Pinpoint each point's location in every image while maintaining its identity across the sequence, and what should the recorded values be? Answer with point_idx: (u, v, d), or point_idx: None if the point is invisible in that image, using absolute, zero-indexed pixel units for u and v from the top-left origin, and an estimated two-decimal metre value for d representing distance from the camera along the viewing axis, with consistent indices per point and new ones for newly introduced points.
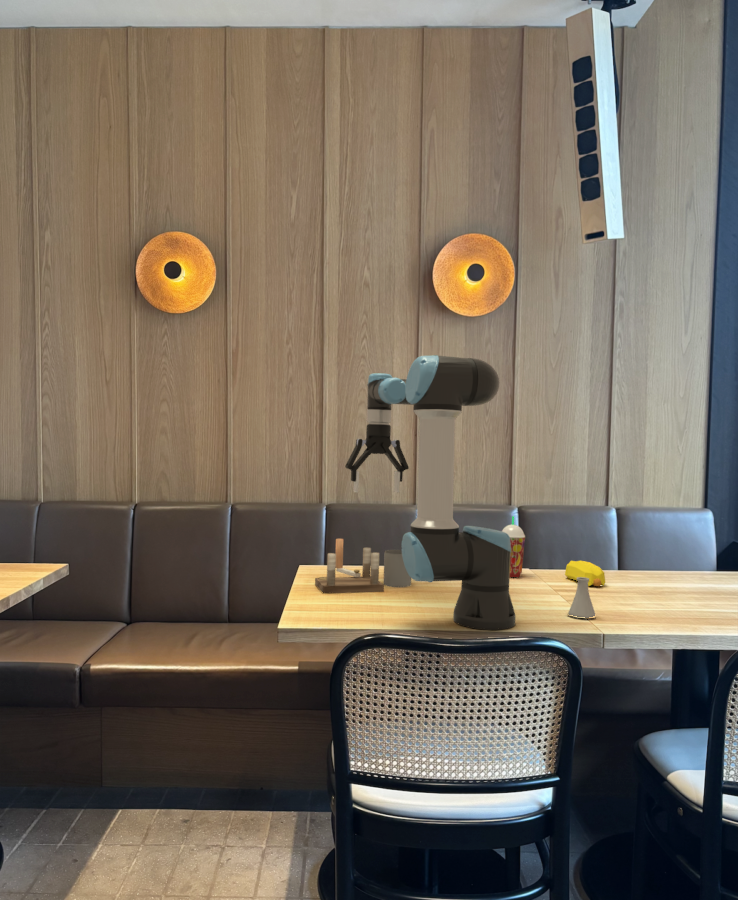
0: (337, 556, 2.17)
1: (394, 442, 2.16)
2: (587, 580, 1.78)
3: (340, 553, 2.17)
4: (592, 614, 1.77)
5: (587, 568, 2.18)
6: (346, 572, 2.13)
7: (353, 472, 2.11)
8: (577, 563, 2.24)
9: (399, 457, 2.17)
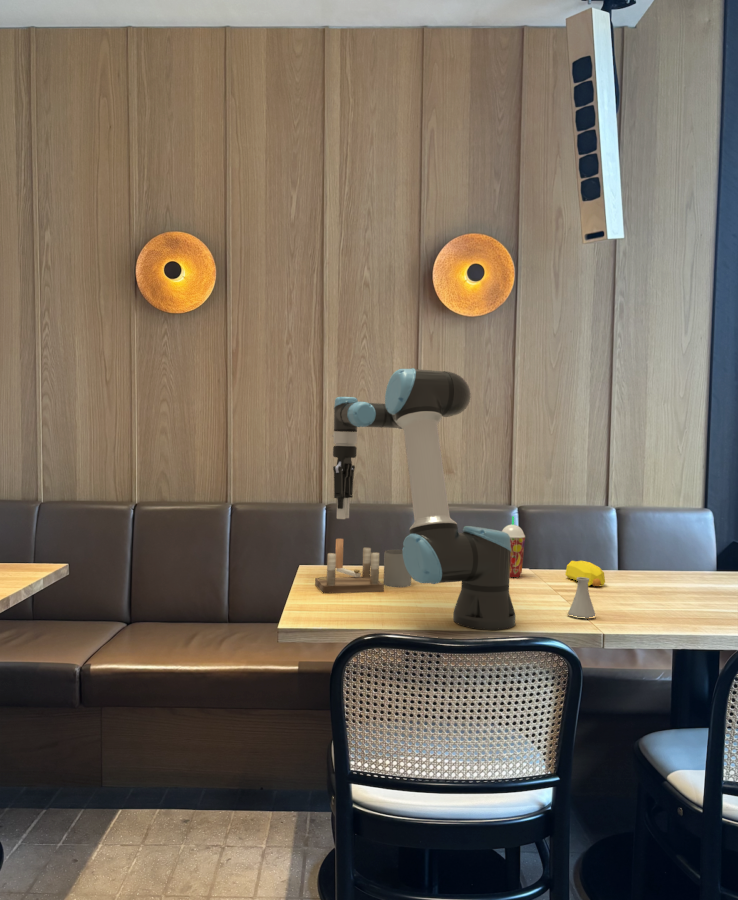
0: (337, 556, 2.17)
1: None
2: (587, 580, 1.78)
3: (340, 553, 2.17)
4: (592, 614, 1.77)
5: (586, 568, 2.18)
6: (346, 572, 2.13)
7: (342, 500, 2.19)
8: (577, 563, 2.24)
9: None
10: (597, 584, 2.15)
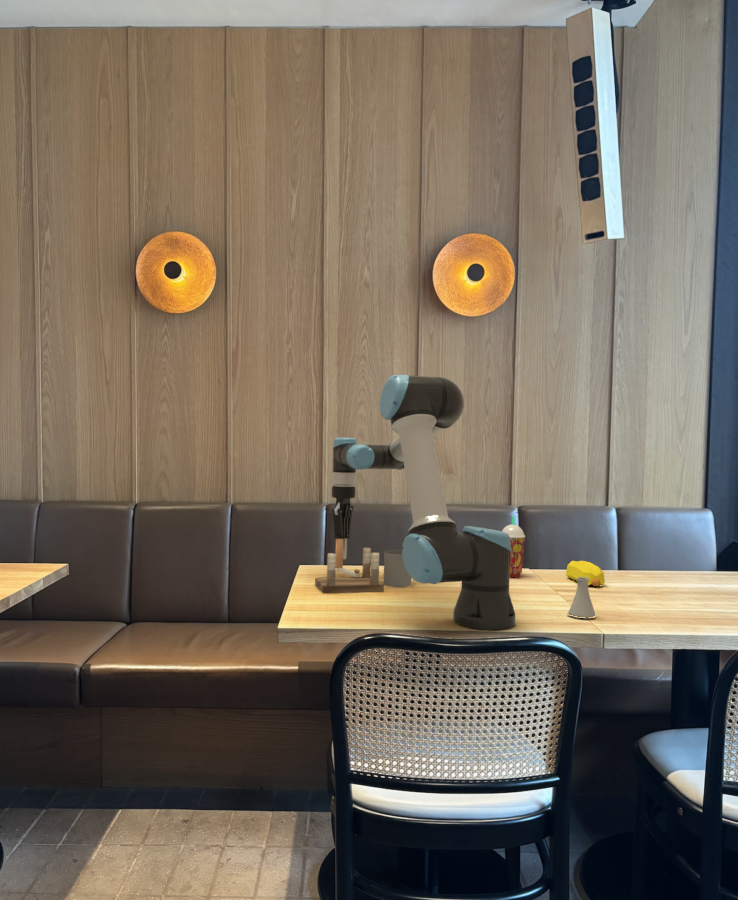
0: (337, 556, 2.17)
1: None
2: (587, 580, 1.78)
3: (340, 553, 2.17)
4: (592, 614, 1.77)
5: (586, 568, 2.18)
6: (346, 572, 2.13)
7: None
8: (577, 563, 2.25)
9: None
10: (596, 584, 2.15)
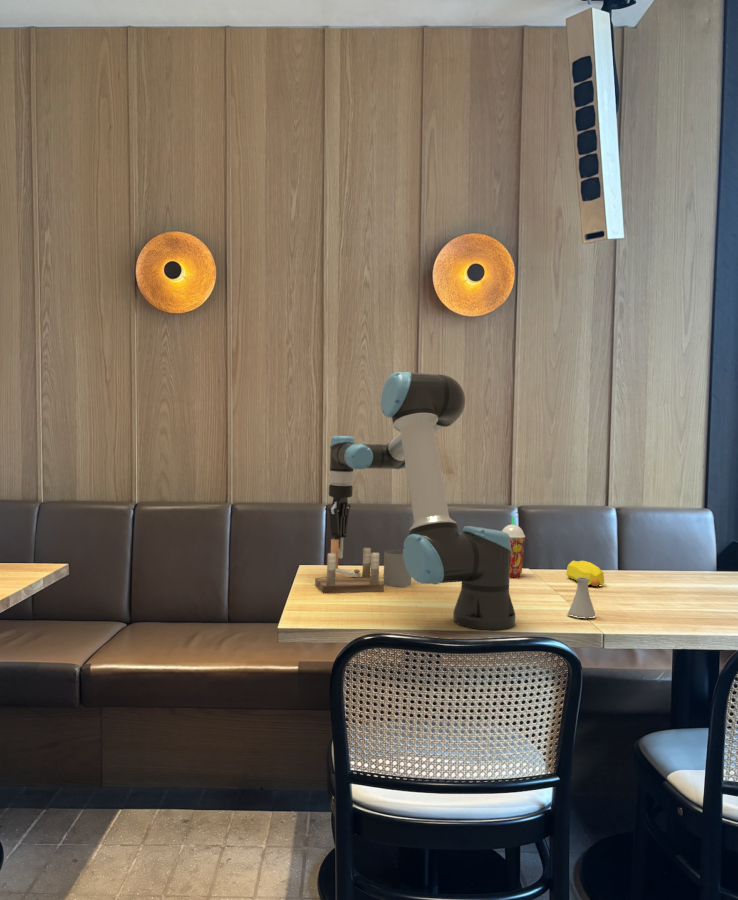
0: None
1: None
2: (587, 580, 1.78)
3: (336, 553, 2.16)
4: (592, 614, 1.77)
5: (585, 568, 2.18)
6: (344, 572, 2.12)
7: None
8: (577, 563, 2.25)
9: None
10: (596, 584, 2.15)
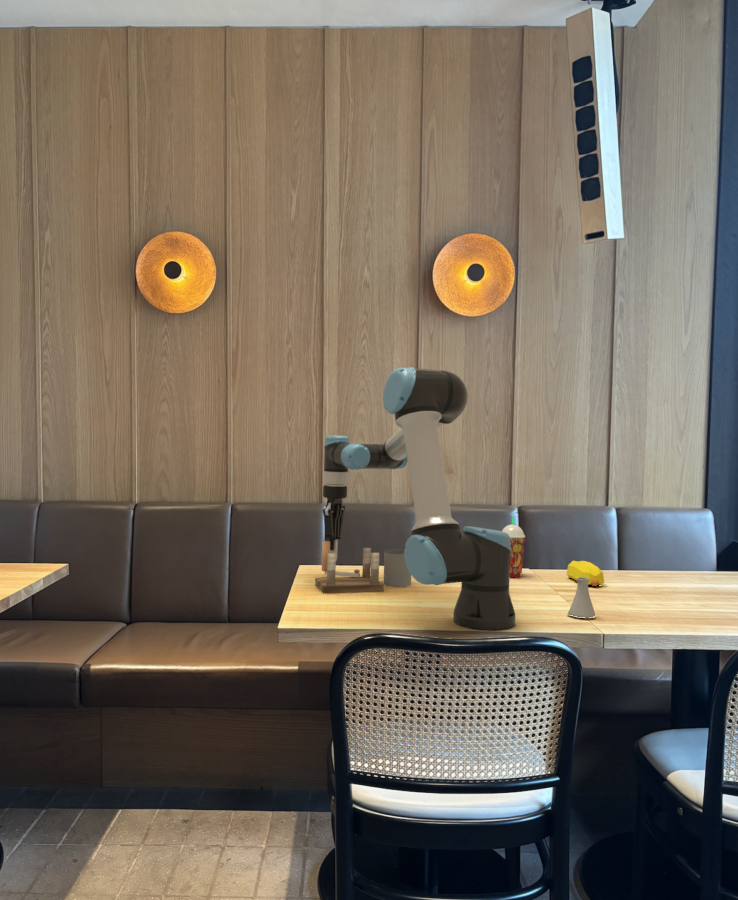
0: (326, 559, 2.12)
1: (341, 506, 2.20)
2: (587, 580, 1.78)
3: None
4: (592, 614, 1.77)
5: (585, 567, 2.18)
6: (342, 574, 2.10)
7: (333, 541, 2.15)
8: (577, 563, 2.25)
9: None
10: (595, 584, 2.15)
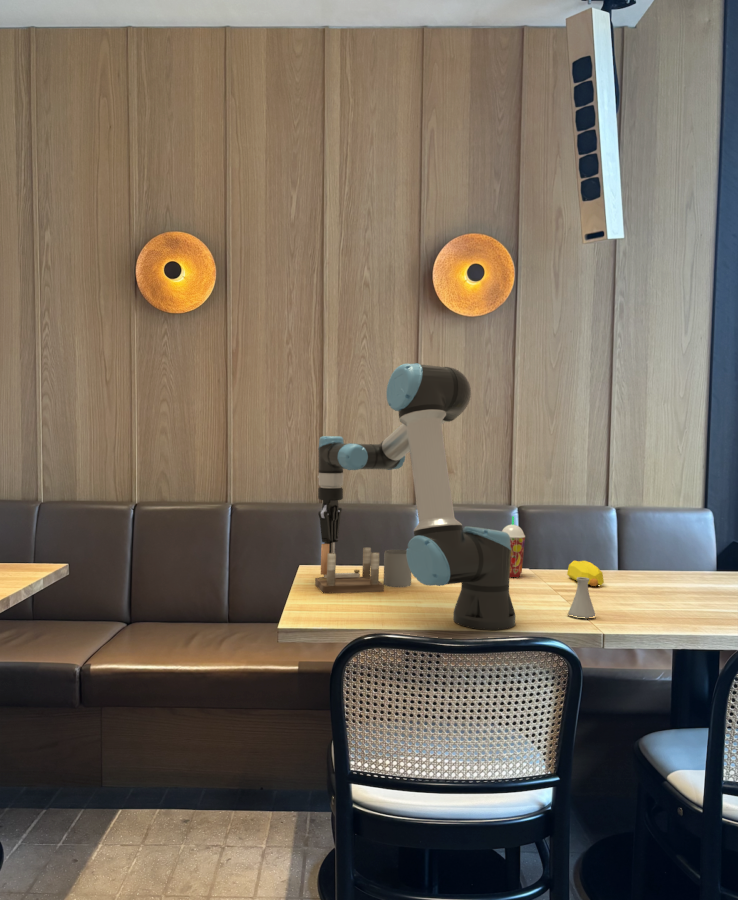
0: None
1: None
2: (587, 580, 1.78)
3: None
4: (592, 614, 1.77)
5: (584, 567, 2.19)
6: (343, 575, 2.08)
7: (330, 544, 2.10)
8: (577, 563, 2.25)
9: None
10: (594, 584, 2.15)
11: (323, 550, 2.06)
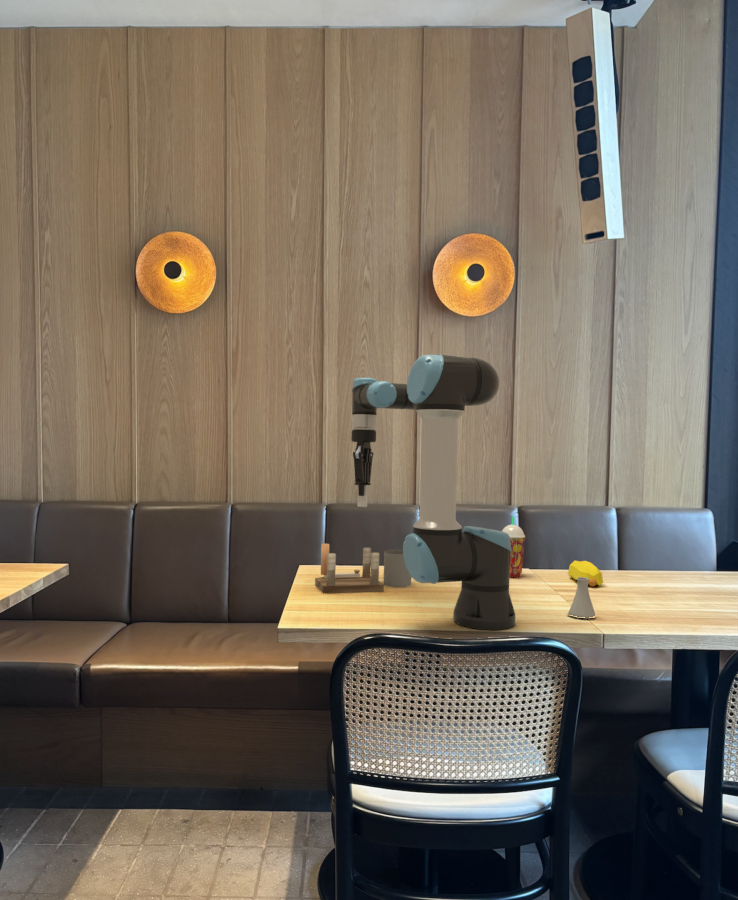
0: None
1: None
2: (587, 580, 1.78)
3: None
4: (592, 614, 1.77)
5: (583, 567, 2.19)
6: (343, 575, 2.08)
7: (363, 486, 2.09)
8: (577, 563, 2.25)
9: None
10: (592, 584, 2.15)
11: (323, 550, 2.06)
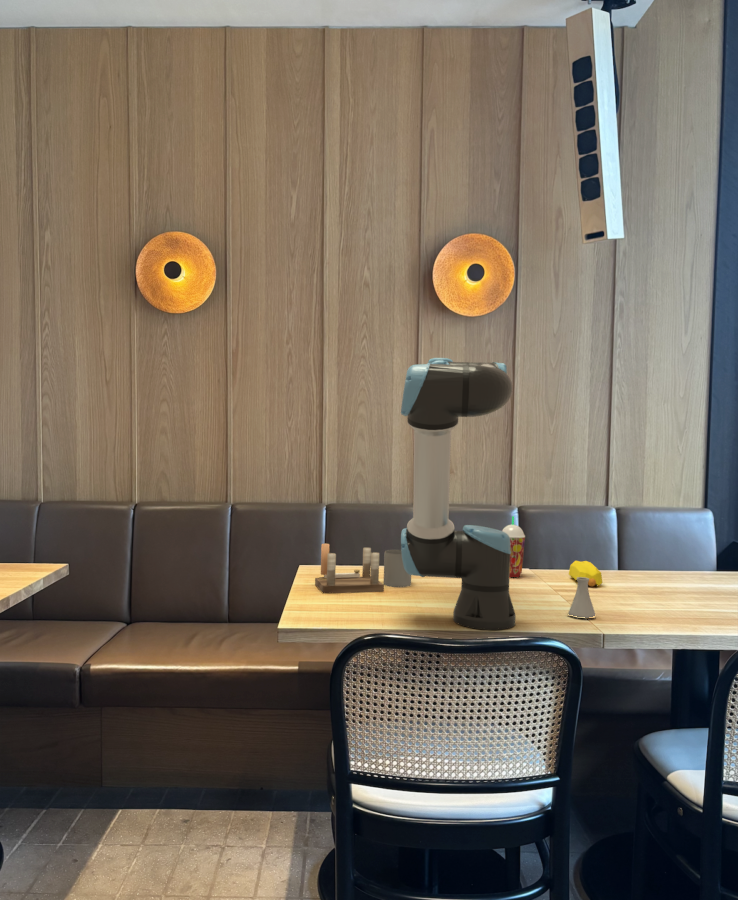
0: None
1: None
2: (587, 580, 1.78)
3: None
4: (592, 614, 1.77)
5: (583, 567, 2.19)
6: (343, 575, 2.08)
7: None
8: (578, 563, 2.25)
9: None
10: (591, 584, 2.15)
11: (323, 550, 2.06)
